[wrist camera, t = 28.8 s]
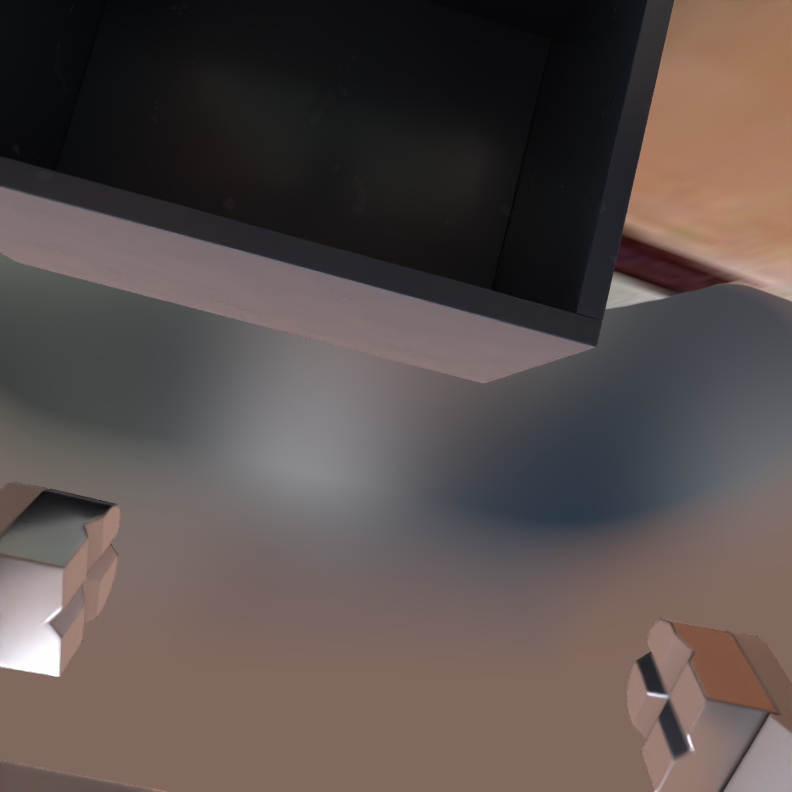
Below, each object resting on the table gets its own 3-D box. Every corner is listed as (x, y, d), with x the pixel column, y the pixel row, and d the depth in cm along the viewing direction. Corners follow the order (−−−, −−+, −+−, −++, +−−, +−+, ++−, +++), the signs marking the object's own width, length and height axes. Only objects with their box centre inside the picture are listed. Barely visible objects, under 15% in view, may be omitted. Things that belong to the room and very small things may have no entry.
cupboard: (-8, -473, 29) (-209, 130, 26) (721, -213, 32) (597, 347, 30) (124, -101, 49) (16, 262, 46) (565, 37, 52) (484, 383, 49)
